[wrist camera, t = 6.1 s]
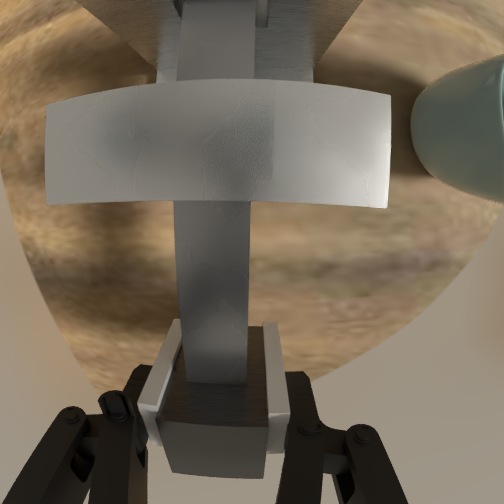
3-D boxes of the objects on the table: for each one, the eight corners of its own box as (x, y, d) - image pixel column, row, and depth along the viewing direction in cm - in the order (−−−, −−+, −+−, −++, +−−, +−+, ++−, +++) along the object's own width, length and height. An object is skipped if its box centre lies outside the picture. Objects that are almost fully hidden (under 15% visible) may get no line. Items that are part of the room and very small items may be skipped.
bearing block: (165, 28, 15) (93, -68, 4) (309, 27, 15) (362, -80, 4) (157, 186, 18) (47, 222, 7) (308, 188, 18) (384, 227, 7)
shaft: (192, 4, 11) (156, -79, 4) (272, 2, 11) (284, -87, 4) (193, 378, 17) (172, 472, 10) (260, 381, 17) (263, 478, 10)
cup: (397, 189, 18) (501, 218, 8) (386, 76, 16) (480, 29, 6) (476, 189, 18) (573, 215, 8) (469, 92, 15) (563, 76, 6)
